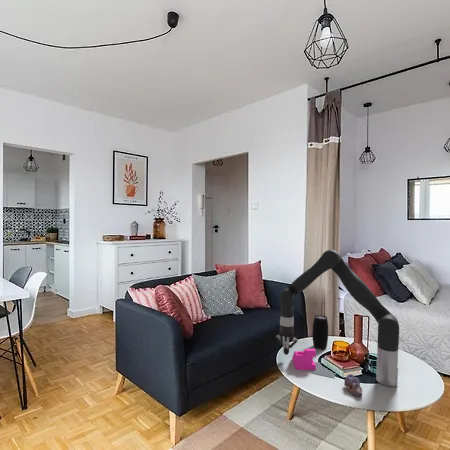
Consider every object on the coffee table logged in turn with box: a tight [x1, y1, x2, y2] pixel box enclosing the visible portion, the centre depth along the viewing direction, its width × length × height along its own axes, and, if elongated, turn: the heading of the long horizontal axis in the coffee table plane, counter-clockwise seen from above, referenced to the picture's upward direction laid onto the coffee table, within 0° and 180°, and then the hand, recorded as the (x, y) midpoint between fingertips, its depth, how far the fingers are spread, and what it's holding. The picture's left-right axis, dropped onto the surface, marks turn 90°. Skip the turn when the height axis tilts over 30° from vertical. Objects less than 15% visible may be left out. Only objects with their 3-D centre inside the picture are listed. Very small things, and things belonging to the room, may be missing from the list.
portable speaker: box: [312, 314, 329, 351], centre depth 199 cm, size 9×9×20 cm
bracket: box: [291, 348, 317, 371], centre depth 176 cm, size 12×10×10 cm
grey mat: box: [310, 361, 336, 379], centre depth 171 cm, size 12×14×1 cm
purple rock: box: [343, 373, 363, 398], centre depth 150 cm, size 12×8×6 cm, turn 172°
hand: (286, 354), depth 180 cm, fingers closed
